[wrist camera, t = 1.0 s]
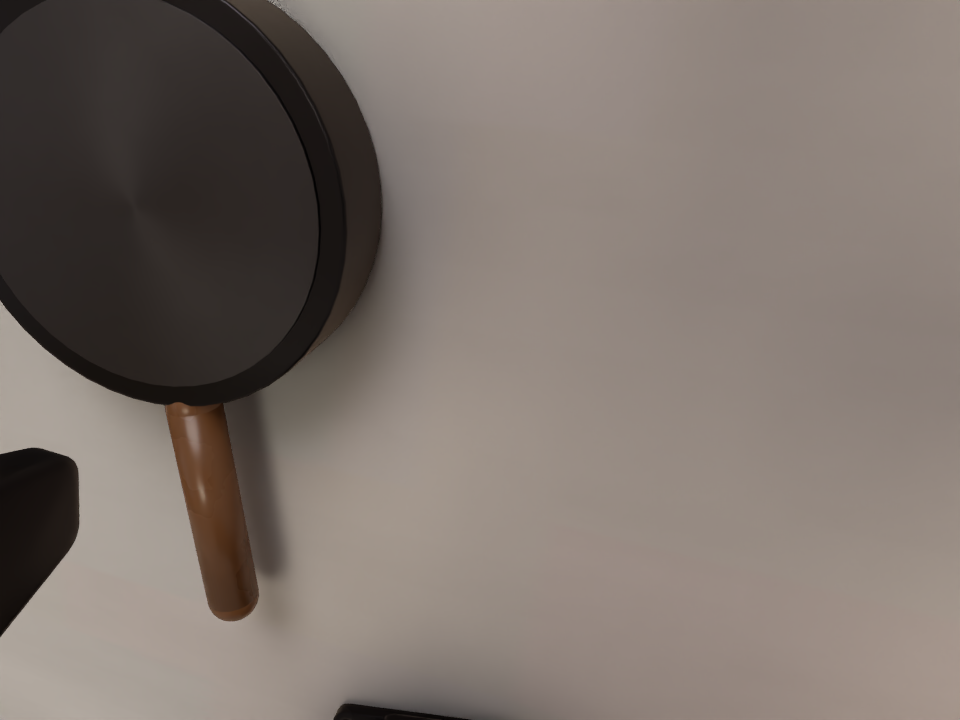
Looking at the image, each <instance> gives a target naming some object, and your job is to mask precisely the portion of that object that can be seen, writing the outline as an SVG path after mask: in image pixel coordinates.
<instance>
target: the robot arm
mask: <svg viewBox="0 0 960 720" xmlns="http://www.w3.org/2000/svg"><path fill="white" fill-rule="evenodd" d="M78 529H79V476H78V468H77V465H76V463H75V462H74V461H73V460H72V459H71V458H69V457H67V456H64V455H61V454H57V453H54V452H51V451H48V450H44V449H40V448H27V449H22V450H18V451H13V452H9V453H4V454H0V637H1V636H2V634H3V633H4V632H5V631H6V629H7V628H8V627H9V626H10V624H11V623H12V622H13V621H14V619H15V618H16V617H17V615H18V614H19V613H20V612H21V610H22V609H23V608H24V607H25V605H26V604H27V603H28V602H29V600H30V599H31V598H32V597H33V595H34V594H35V593H36V592H37V590H38V589H39V588H40V587H41V585H42V584H43V583H44V582H45V580H46V579H47V578H48V576H49V575H50V574H51V573H52V571H53V570H54V569H55V568H56V566H57V565H58V564H59V563H60V561H61V560H62V559H63V558H64V556H65V555H66V554H67V553H68V551H69V550H70V548H71V547H72V545H73V543H74V541H75V539H76V536H77V533H78ZM334 720H469V719H462V718H454V717H447V716H439V715H432V714H424V713H417V712H409V711H402V710H394V709H387V708H379V707H372V706H364V705H356V704H344V705H342V706H340V708H339V709H338V711H337V713H336V715H335V717H334Z"/></svg>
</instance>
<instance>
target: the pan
mask: <svg viewBox="0 0 960 720" xmlns="http://www.w3.org/2000/svg"><path fill="white" fill-rule="evenodd" d="M381 216H382V208H381V185H380V178H379V172H378V166H377V159H376V155H375V152H374V148H373V145H372V141H371V138H370V134H369V130H368V128H367V126H366V123H365V121H364V118H363V116H362V113H361V111H360V109H359V106H358V104H357V102H356V100H355V98H354V96H353V94H352V93H351V91H350V89H349V87H348V85H347V84H346V82H345V80H344V78H343V76H342V75H341V74H340V72H339V71H338V69H337V68H336V67H335V65H334V64H333V62H332V61H331V60H330V58H329V57H328V55H327V54H326V53H325V51H324V50H323V49H322V48H321V47H320V46H319V45H318V44H317V43H316V42H315V40H314V39H313V38H312V37H311V36H310V35H309V34H308V33H307V32H306V31H305V30H304V29H303V28H302V27H301V26H300V25H299V24H297V23H296V22H295V21H294V20H293V19H292V18H290V17H289V16H288V15H287V14H286V13H285V12H283V11H282V10H281V9H279V8H278V7H276V6H275V5H273V4H272V3H270V2H269V1H267V0H0V301H1V302H2V303H3V305H4V306H5V308H6V309H7V310H8V311H9V312H10V313H11V315H12V316H13V317H14V318H15V319H16V320H17V322H18V323H19V324H20V325H21V326H22V327H23V328H24V330H25V331H27V332H28V333H29V334H30V335H31V336H32V337H33V338H34V339H35V340H36V341H37V342H38V343H39V344H40V345H41V346H42V347H43V348H44V349H46V350H47V351H48V352H50V353H51V354H52V355H53V356H55V357H56V358H57V359H59V360H60V361H61V362H62V363H64V364H65V365H66V366H68V367H70V368H71V369H73V370H74V371H76V372H77V373H79V374H81V375H82V376H84V377H85V378H87V379H89V380H91V381H93V382H95V383H97V384H99V385H101V386H103V387H105V388H107V389H109V390H112V391H114V392H117V393H120V394H122V395H125V396H128V397H131V398H134V399H138V400H142V401H146V402H150V403H154V404H161V405H165V411H166V416H167V420H168V425H169V429H170V434H171V438H172V443H173V448H174V452H175V457H176V461H177V466H178V470H179V475H180V479H181V484H182V488H183V493H184V497H185V502H186V506H187V511H188V515H189V520H190V524H191V529H192V533H193V538H194V542H195V547H196V551H197V556H198V561H199V565H200V570H201V574H202V579H203V583H204V588H205V592H206V597H207V601H208V605H209V608H210V610H211V611H212V613H213V614H214V615H215V616H216V617H218V618H219V619H222V620H224V621H238V620H241V619H243V618H245V617H246V616H248V615H249V614H250V613H251V612H252V611H253V609H254V608H255V606H256V604H257V602H258V597H259V589H258V584H257V579H256V573H255V568H254V563H253V558H252V552H251V547H250V542H249V537H248V531H247V526H246V521H245V516H244V510H243V505H242V500H241V494H240V489H239V484H238V479H237V473H236V468H235V463H234V458H233V452H232V447H231V442H230V437H229V431H228V426H227V421H226V415H225V410H224V405H223V403H227V402H230V401H233V400H236V399H239V398H243V397H246V396H249V395H251V394H253V393H255V392H257V391H259V390H261V389H263V388H265V387H267V386H269V385H270V384H272V383H273V382H275V381H276V380H277V379H279V378H280V377H282V376H283V375H285V374H286V373H287V372H289V371H290V370H291V369H292V368H293V367H294V366H296V365H297V364H298V363H299V362H300V361H301V360H302V359H304V358H305V357H306V356H307V355H308V354H309V353H311V352H312V351H313V350H314V349H315V348H316V347H318V346H319V345H320V344H321V343H322V342H323V341H325V340H326V339H327V338H328V337H329V336H330V335H331V334H332V333H333V332H334V331H335V330H336V329H337V328H338V327H339V326H340V325H341V324H342V322H343V321H344V320H345V318H346V317H347V316H348V315H349V313H350V312H351V311H352V309H353V308H354V306H355V305H356V303H357V301H358V299H359V297H360V295H361V294H362V292H363V290H364V288H365V286H366V284H367V281H368V278H369V276H370V273H371V270H372V268H373V265H374V261H375V256H376V252H377V248H378V243H379V237H380V227H381Z"/></svg>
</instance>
